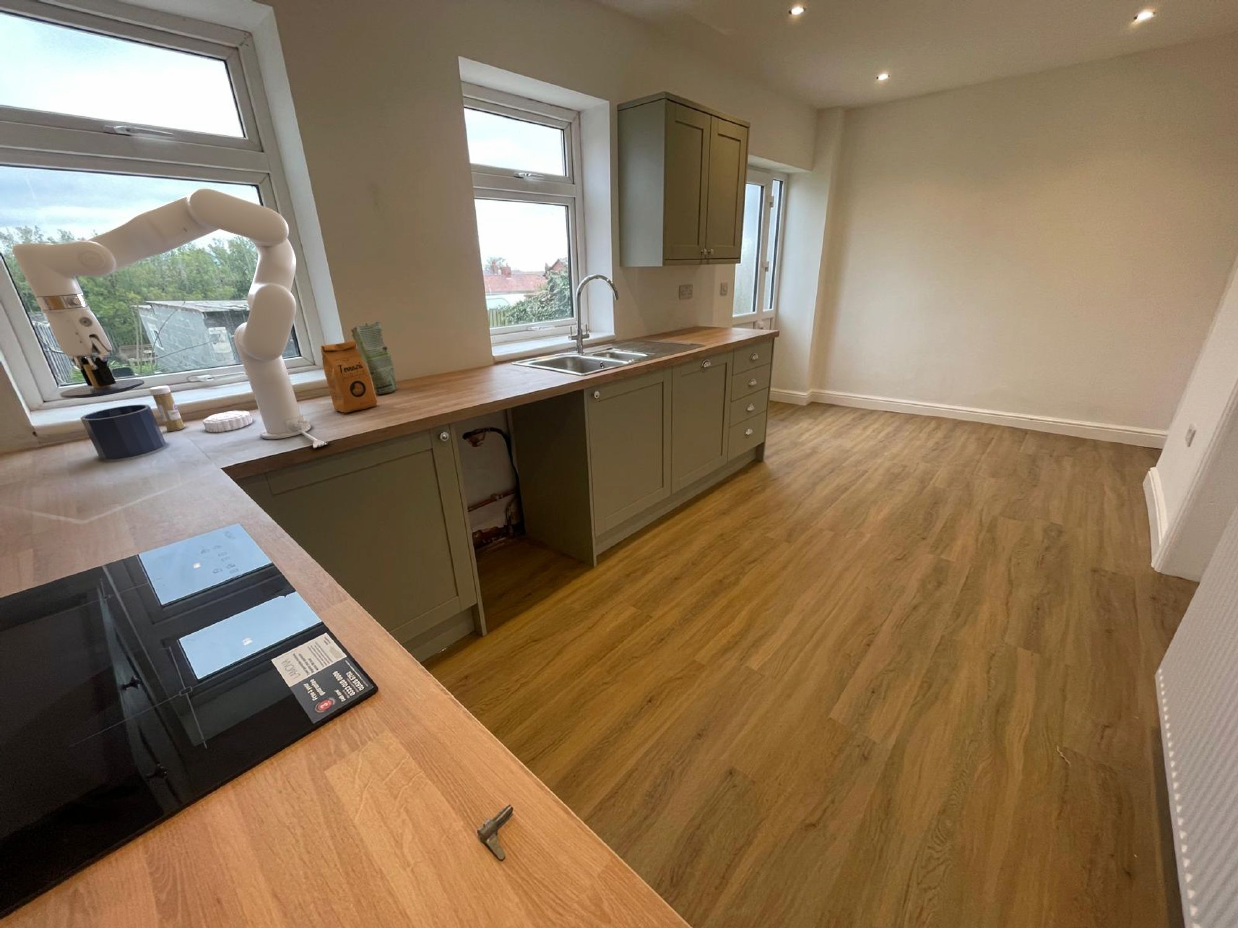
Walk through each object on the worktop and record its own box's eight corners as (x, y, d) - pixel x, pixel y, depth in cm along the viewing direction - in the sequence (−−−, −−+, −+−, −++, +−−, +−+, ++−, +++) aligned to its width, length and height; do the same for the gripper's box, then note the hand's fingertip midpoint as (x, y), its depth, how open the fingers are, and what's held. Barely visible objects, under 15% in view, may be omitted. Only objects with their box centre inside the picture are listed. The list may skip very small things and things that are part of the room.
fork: (309, 432, 147) (307, 426, 146) (331, 447, 134) (329, 441, 133) (296, 435, 145) (294, 429, 144) (318, 451, 132) (316, 445, 131)
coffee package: (382, 406, 168) (366, 340, 160) (343, 416, 160) (324, 347, 152) (369, 402, 175) (353, 338, 166) (332, 411, 167) (313, 344, 158)
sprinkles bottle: (184, 429, 155) (167, 387, 149) (165, 432, 153) (147, 389, 147) (186, 425, 158) (169, 384, 153) (168, 429, 156) (150, 386, 151)
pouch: (367, 397, 181) (349, 326, 171) (366, 390, 191) (349, 323, 181) (400, 392, 185) (384, 323, 176) (397, 386, 195) (382, 320, 185)
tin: (177, 444, 141) (161, 405, 137) (121, 463, 130) (101, 421, 125) (146, 441, 146) (129, 403, 141) (88, 459, 134) (67, 418, 129)
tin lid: (160, 384, 123) (148, 357, 121) (87, 401, 111) (72, 372, 108) (121, 383, 128) (109, 356, 125) (47, 399, 115) (32, 370, 112)
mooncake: (197, 430, 153) (192, 419, 152) (236, 418, 163) (233, 408, 162) (222, 434, 149) (217, 422, 147) (261, 421, 159) (257, 410, 158)
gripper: (107, 301, 112) (143, 381, 119) (62, 302, 117) (99, 380, 124) (65, 305, 105) (106, 390, 113) (19, 306, 110) (60, 388, 118)
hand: (102, 384), depth 118 cm, fingers closed on tin lid, 3 cm apart
